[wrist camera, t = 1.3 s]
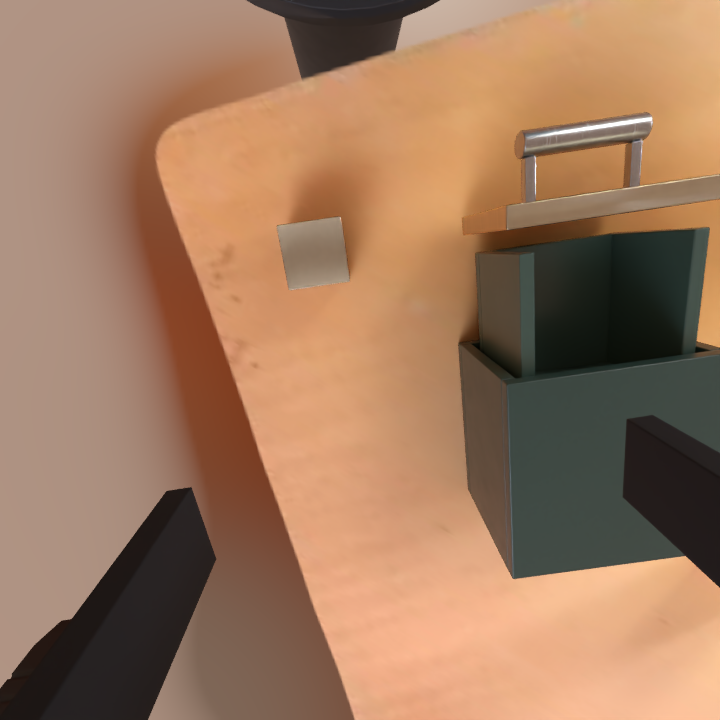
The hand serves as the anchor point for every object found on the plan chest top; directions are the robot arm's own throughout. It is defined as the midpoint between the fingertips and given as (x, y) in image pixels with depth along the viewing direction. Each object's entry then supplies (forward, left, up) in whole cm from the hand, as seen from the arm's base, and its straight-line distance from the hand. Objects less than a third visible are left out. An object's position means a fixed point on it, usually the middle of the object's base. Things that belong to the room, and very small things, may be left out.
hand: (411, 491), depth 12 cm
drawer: (-4, +13, -18) cm, 23 cm away
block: (-7, -3, -19) cm, 21 cm away
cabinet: (+8, +13, -19) cm, 24 cm away
